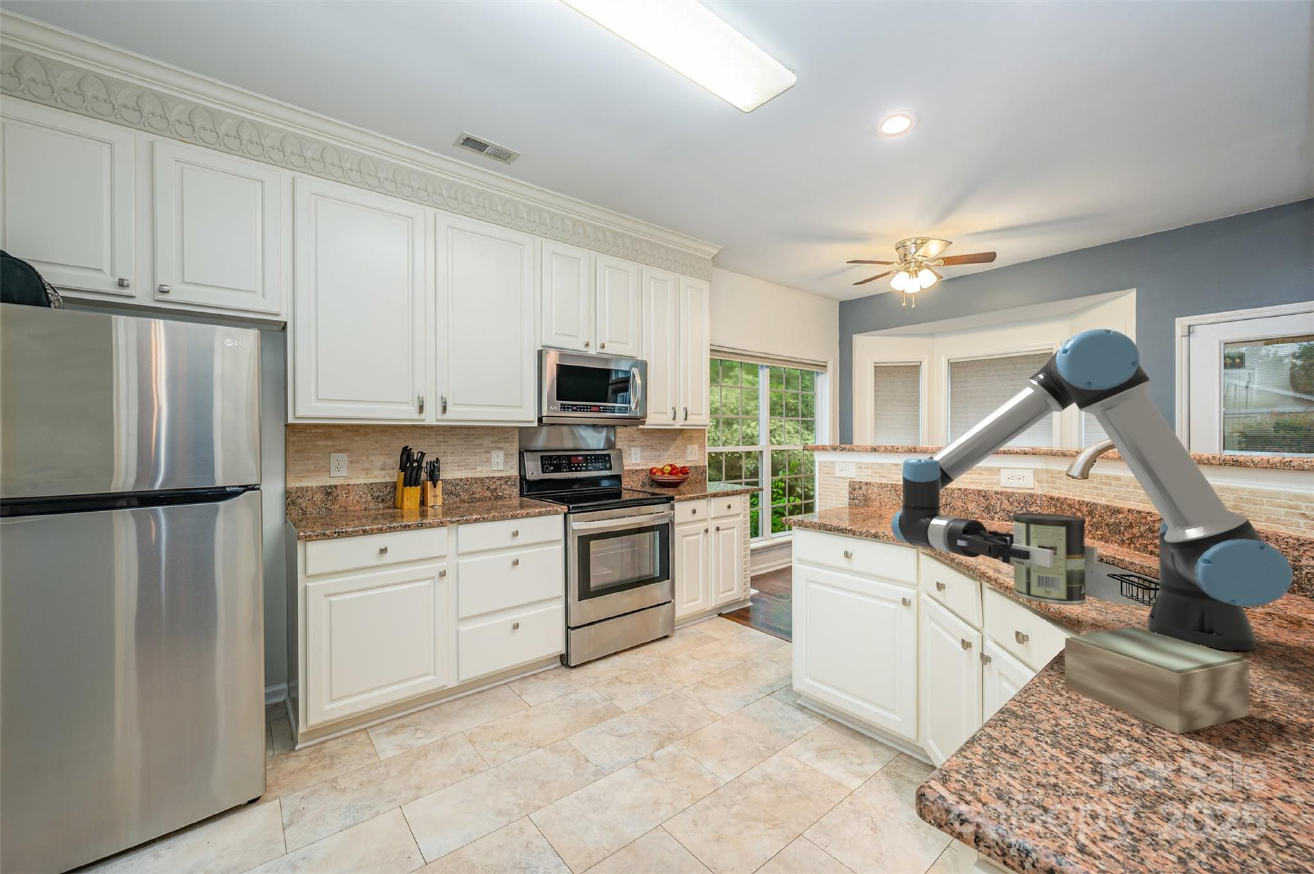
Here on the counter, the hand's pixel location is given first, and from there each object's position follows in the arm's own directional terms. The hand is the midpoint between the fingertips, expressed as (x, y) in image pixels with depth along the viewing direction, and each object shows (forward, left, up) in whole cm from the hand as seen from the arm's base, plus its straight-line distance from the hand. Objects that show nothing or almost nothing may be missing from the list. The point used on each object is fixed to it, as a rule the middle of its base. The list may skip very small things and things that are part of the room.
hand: (1074, 557), depth 89 cm
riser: (-2, +11, -19) cm, 22 cm away
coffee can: (+1, -4, -8) cm, 9 cm away
